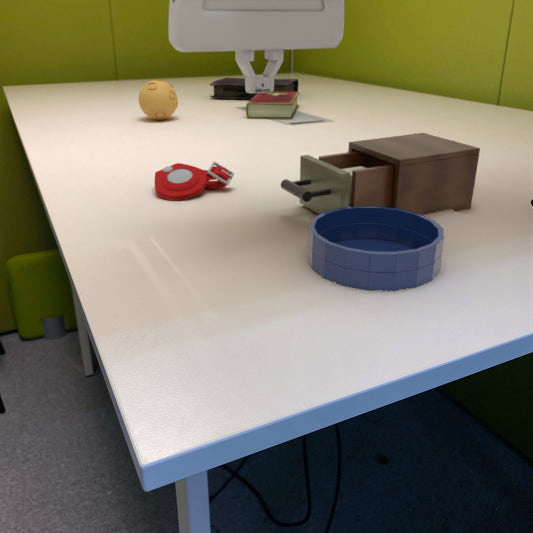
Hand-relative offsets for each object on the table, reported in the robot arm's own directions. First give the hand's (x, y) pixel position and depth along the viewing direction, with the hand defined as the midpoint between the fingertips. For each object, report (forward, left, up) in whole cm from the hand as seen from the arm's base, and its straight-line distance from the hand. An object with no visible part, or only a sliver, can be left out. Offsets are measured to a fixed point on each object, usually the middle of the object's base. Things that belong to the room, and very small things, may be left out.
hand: (259, 92), depth 64 cm
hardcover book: (-42, -79, -17) cm, 91 cm away
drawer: (-13, 0, -16) cm, 21 cm away
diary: (-50, -108, -17) cm, 120 cm away
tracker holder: (+2, -20, -17) cm, 27 cm away
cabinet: (-24, 0, -17) cm, 29 cm away
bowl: (-7, +15, -17) cm, 24 cm away
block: (-15, 0, -15) cm, 21 cm away
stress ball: (-11, -83, -17) cm, 85 cm away
